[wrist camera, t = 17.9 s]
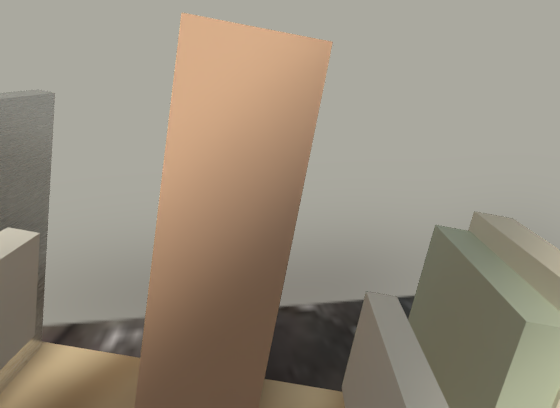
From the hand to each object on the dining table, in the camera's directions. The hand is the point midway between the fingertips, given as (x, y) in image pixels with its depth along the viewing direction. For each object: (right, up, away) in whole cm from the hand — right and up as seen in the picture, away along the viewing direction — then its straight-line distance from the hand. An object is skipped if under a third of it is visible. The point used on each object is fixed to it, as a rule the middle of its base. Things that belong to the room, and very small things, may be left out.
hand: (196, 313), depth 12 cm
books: (+10, -10, +11) cm, 18 cm away
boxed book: (-2, -8, +11) cm, 14 cm away
